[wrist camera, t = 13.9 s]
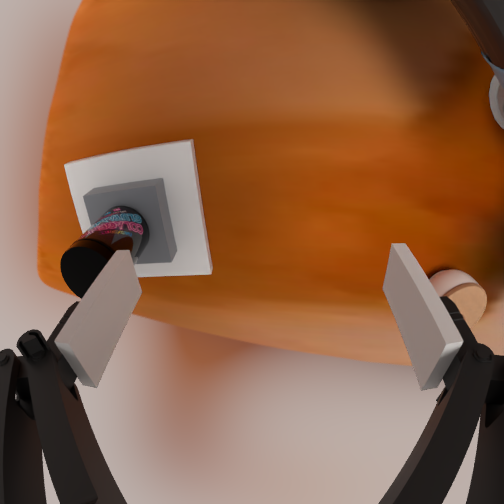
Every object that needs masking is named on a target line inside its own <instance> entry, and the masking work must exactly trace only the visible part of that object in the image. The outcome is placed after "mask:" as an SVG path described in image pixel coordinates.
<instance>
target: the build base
mask: <svg viewBox="0 0 504 504" xmlns="http://www.w3.org/2000/svg"><path fill="white" fill-rule="evenodd" d="M64 166H65V171H66V175H67V179H68V183H69V187H70V191H71V195H72V198H73V202H74V206H75V209H76V213H77V216H78V219H79V223H80V226H81V229H82V232H83V234H84V233H85V231H86V230H87V229H88V228H90V227H91V226H92V225H93V224H94V223H95V222H96V221H97V220H98V219H99V218H100V217H101V216H102V215H103V214H104V213H105V212H106V211H107V210H108V209H110V208H112V207H114V206H128V207H131V208H133V209H135V210H136V211H138V212H139V213H140V214H141V215H142V216H143V217H144V219H145V220H146V222H147V224H148V227H149V234H150V236H149V242H148V244H147V246H146V248H145V249H144V251H143V253H142V254H141V256H140V257H139V259H138V261H137V262H136V264H135V265H134V268H135V271H136V274H137V277H155V276H183V275H208V274H211V273H212V269H213V267H212V261H211V255H210V249H209V243H208V237H207V231H206V225H205V218H204V212H203V205H202V199H201V192H200V185H199V178H198V171H197V164H196V157H195V149H194V141H193V139H189V140H181V141H174V142H167V143H161V144H154V145H148V146H142V147H137V148H131V149H126V150H121V151H115V152H111V153H106V154H101V155H96V156H92V157H87V158H83V159H79V160H75V161H71V162H68V163H66V164H64Z"/></svg>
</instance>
